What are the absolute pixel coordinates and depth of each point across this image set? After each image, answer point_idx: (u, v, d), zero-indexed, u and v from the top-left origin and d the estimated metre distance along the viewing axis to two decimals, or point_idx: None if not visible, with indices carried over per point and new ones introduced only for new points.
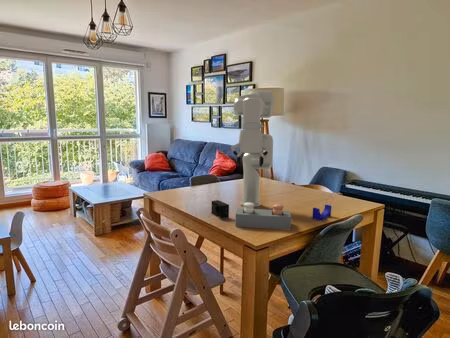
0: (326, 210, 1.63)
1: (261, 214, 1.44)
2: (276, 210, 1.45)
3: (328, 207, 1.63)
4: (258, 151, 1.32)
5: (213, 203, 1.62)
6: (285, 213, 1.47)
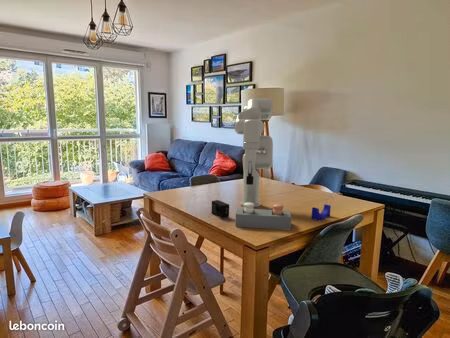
0: (325, 210, 1.63)
1: (261, 214, 1.44)
2: (276, 210, 1.45)
3: (327, 207, 1.63)
4: None
5: (213, 203, 1.62)
6: (285, 213, 1.47)
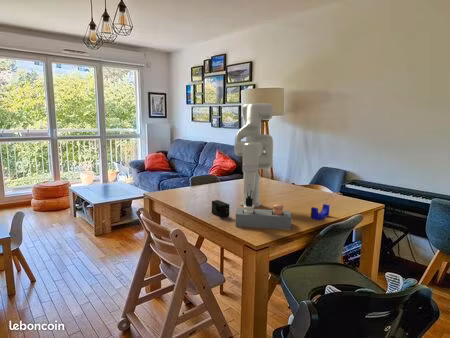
0: (324, 209, 1.64)
1: (261, 214, 1.44)
2: (276, 210, 1.45)
3: (326, 207, 1.63)
4: None
5: (213, 203, 1.62)
6: (285, 213, 1.47)
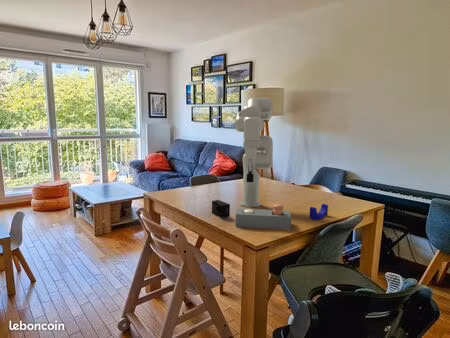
0: (323, 209, 1.64)
1: (261, 214, 1.44)
2: (276, 210, 1.45)
3: (325, 206, 1.64)
4: None
5: (213, 203, 1.62)
6: (285, 213, 1.47)
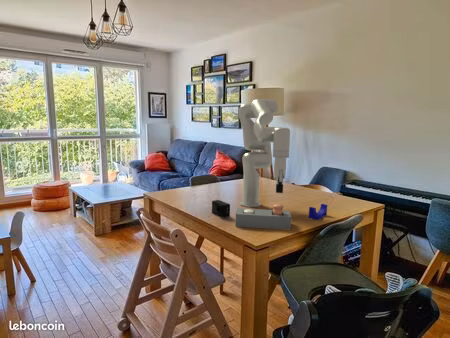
0: (322, 209, 1.64)
1: (261, 214, 1.44)
2: (276, 210, 1.45)
3: (324, 206, 1.64)
4: None
5: (214, 203, 1.62)
6: (285, 213, 1.47)
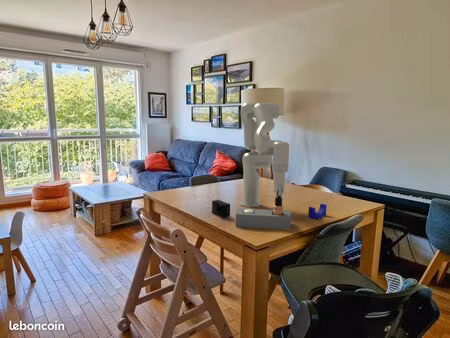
0: (321, 209, 1.65)
1: (261, 214, 1.44)
2: (276, 210, 1.45)
3: (323, 206, 1.64)
4: None
5: (214, 203, 1.62)
6: (285, 213, 1.47)
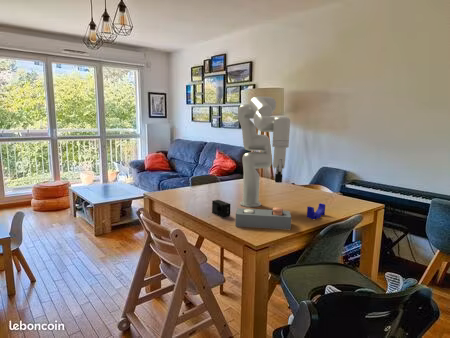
0: (320, 209, 1.65)
1: (261, 214, 1.44)
2: (276, 213, 1.45)
3: (322, 206, 1.65)
4: None
5: (214, 203, 1.62)
6: (285, 213, 1.47)
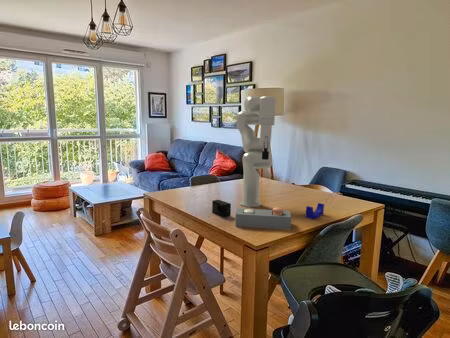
0: (319, 208, 1.66)
1: (261, 214, 1.44)
2: (276, 213, 1.45)
3: (321, 205, 1.65)
4: None
5: (214, 202, 1.63)
6: (285, 213, 1.47)
